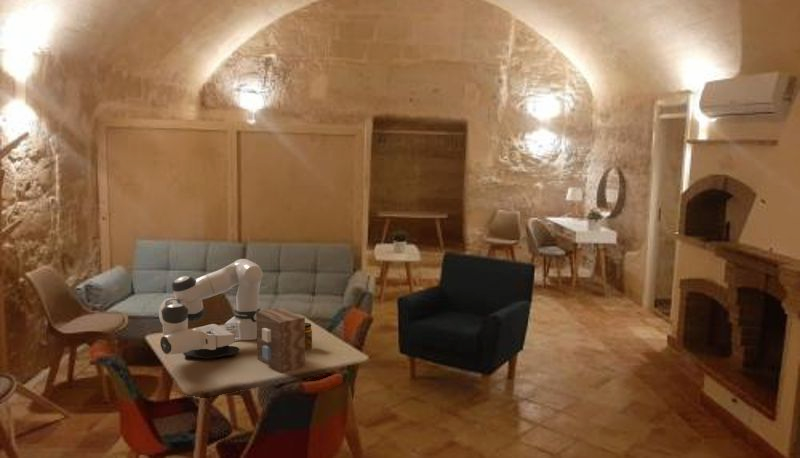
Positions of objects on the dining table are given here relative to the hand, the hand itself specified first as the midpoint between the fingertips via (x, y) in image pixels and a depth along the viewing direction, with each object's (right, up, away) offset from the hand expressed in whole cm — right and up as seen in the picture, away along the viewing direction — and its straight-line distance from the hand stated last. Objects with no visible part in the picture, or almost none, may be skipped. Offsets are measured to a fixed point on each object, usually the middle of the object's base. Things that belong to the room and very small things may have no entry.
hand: (235, 330), depth 262 cm
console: (+16, -17, +18) cm, 29 cm away
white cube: (+12, -6, +13) cm, 18 cm away
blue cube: (+12, -14, +14) cm, 23 cm away
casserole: (-18, -16, +27) cm, 36 cm away
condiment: (+23, -15, +38) cm, 46 cm away
